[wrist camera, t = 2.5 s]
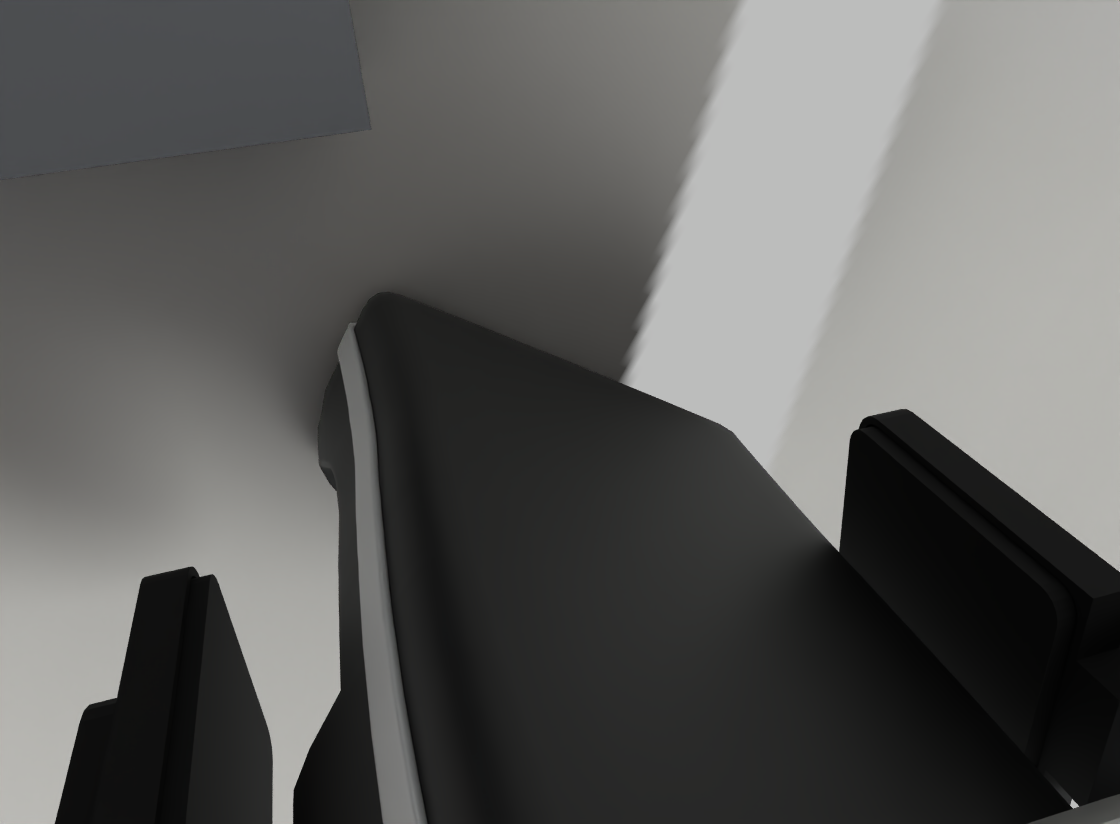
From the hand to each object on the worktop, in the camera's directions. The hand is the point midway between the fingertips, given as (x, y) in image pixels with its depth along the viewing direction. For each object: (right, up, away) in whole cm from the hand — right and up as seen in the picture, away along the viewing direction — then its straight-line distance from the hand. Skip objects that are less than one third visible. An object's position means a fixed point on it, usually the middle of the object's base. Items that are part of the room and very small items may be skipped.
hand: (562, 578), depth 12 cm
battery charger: (-1, +2, +3) cm, 3 cm away
